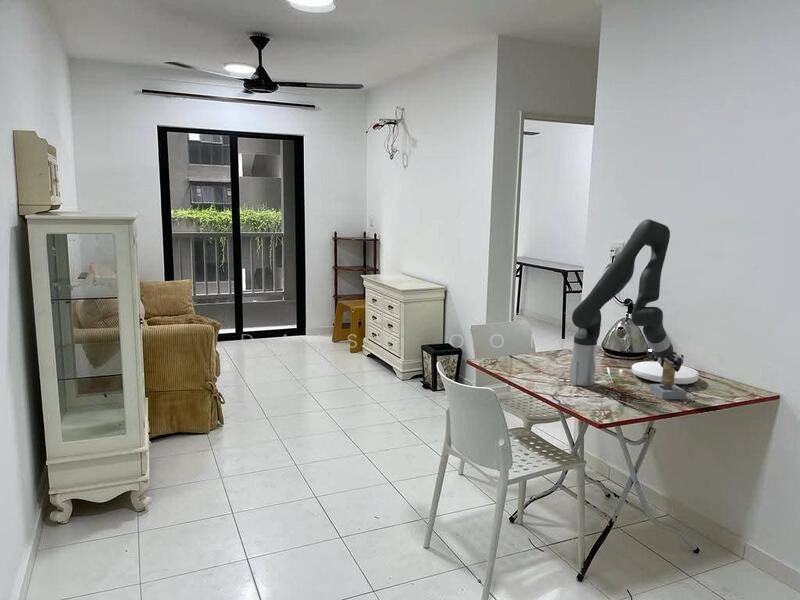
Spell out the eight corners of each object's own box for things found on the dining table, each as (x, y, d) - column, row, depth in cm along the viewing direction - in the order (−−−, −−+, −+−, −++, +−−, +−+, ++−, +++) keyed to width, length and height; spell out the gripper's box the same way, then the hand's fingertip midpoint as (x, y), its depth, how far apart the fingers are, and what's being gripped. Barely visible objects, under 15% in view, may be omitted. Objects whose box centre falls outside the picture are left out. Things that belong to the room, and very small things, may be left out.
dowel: (665, 386, 225) (668, 353, 223) (659, 382, 230) (662, 350, 227) (675, 385, 226) (679, 353, 223) (669, 382, 230) (673, 350, 228)
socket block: (662, 399, 223) (662, 391, 223) (649, 391, 233) (650, 384, 232) (685, 398, 224) (686, 391, 224) (672, 390, 234) (672, 383, 233)
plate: (626, 357, 266) (689, 361, 260) (625, 371, 266) (688, 376, 261) (639, 368, 238) (709, 373, 233) (638, 383, 239) (708, 389, 233)
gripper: (682, 339, 214) (693, 365, 224) (645, 331, 225) (657, 356, 235) (674, 355, 212) (685, 380, 221) (637, 346, 222) (649, 371, 232)
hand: (671, 368), depth 228 cm, fingers closed on dowel, 4 cm apart
